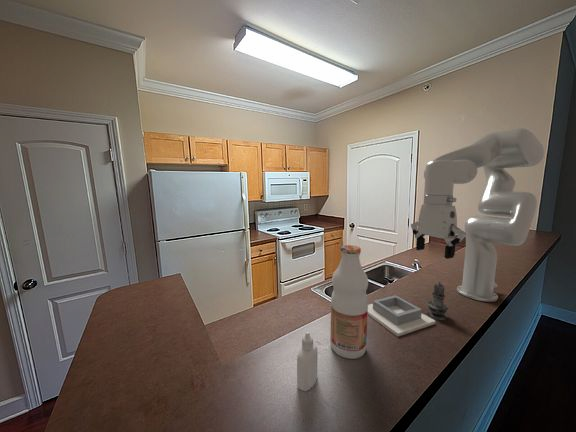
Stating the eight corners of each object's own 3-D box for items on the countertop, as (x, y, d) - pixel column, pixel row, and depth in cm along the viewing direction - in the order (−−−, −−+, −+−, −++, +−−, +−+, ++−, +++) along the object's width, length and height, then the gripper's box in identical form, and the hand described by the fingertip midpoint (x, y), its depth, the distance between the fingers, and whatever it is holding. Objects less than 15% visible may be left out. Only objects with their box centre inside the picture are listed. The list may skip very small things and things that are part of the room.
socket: (394, 300, 87) (395, 290, 86) (435, 323, 72) (436, 312, 71) (360, 309, 81) (361, 298, 80) (397, 336, 66) (398, 323, 65)
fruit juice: (324, 339, 65) (325, 244, 61) (353, 333, 68) (356, 241, 64) (340, 363, 56) (343, 254, 52) (373, 355, 59) (378, 250, 55)
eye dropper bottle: (292, 378, 52) (291, 330, 50) (313, 370, 54) (313, 323, 52) (300, 394, 48) (300, 342, 46) (323, 384, 50) (324, 334, 49)
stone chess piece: (450, 321, 73) (454, 286, 71) (430, 319, 74) (433, 284, 73) (442, 311, 79) (445, 278, 77) (423, 309, 80) (426, 277, 78)
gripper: (476, 201, 64) (470, 260, 67) (421, 198, 80) (418, 245, 83) (459, 203, 62) (453, 263, 64) (405, 199, 77) (402, 248, 80)
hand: (433, 253), depth 73 cm, fingers open, 9 cm apart
